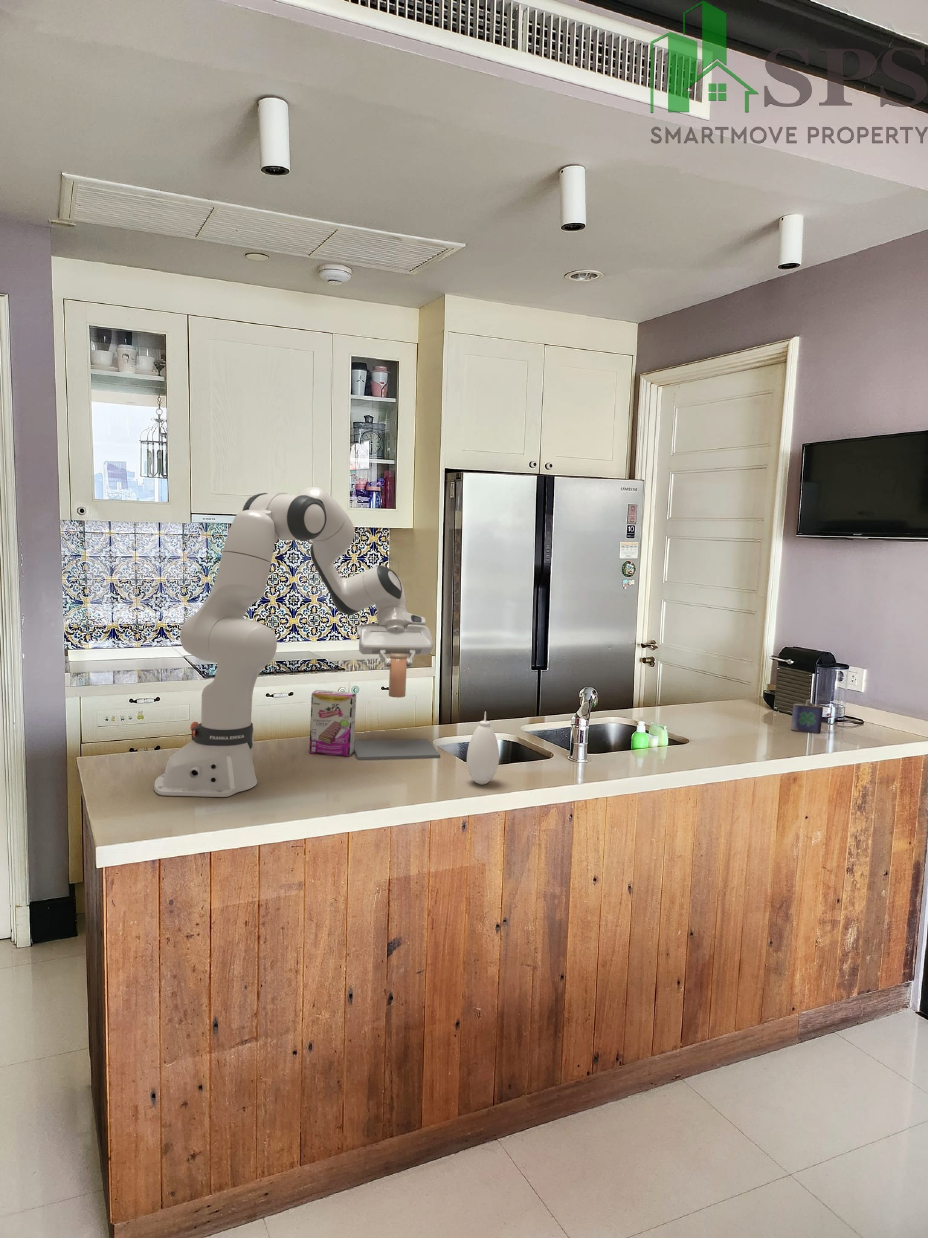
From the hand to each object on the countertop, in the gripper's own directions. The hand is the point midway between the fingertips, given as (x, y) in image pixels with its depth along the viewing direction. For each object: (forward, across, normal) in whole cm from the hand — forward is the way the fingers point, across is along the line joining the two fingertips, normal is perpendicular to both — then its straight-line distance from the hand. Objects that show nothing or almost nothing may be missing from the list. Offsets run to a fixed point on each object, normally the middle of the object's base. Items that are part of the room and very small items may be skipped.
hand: (398, 665), depth 224 cm
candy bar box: (+17, -17, +17) cm, 29 cm away
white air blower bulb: (+38, +16, -4) cm, 41 cm away
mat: (+16, 0, +17) cm, 24 cm away
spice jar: (+6, 0, +6) cm, 8 cm away
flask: (+10, +139, +25) cm, 141 cm away
